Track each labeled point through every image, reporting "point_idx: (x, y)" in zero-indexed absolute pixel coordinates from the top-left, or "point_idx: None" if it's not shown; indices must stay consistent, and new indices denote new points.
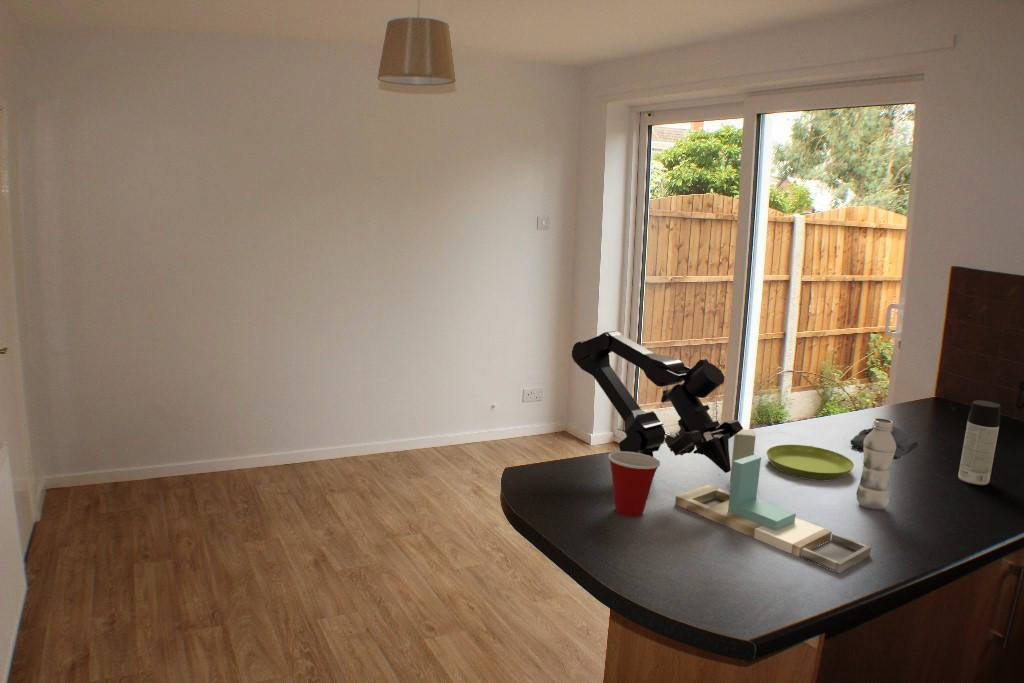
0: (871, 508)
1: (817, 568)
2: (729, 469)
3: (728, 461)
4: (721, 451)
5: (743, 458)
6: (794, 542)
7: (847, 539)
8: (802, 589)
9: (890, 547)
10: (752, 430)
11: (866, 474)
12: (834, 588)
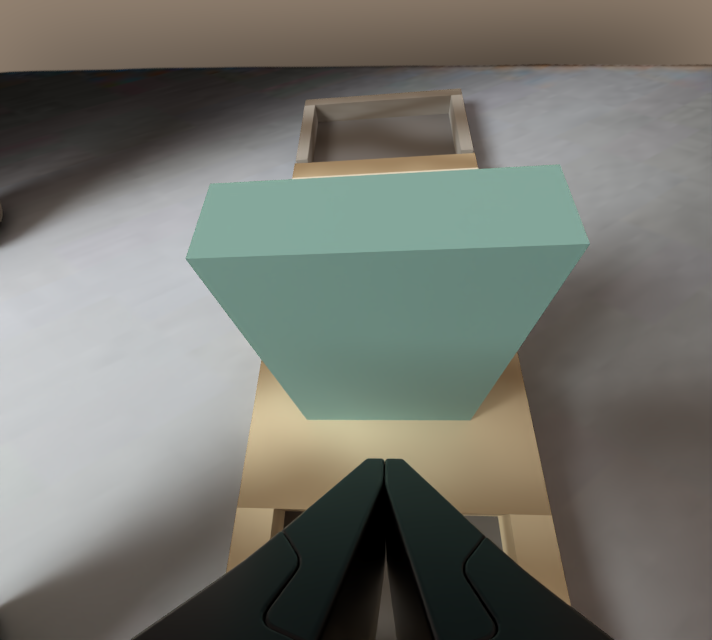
0: (1, 214)
1: (479, 137)
2: (383, 461)
3: (363, 486)
4: (481, 574)
5: (388, 242)
6: (463, 169)
7: (309, 132)
8: (602, 109)
9: (227, 123)
10: None
11: None
12: (525, 92)
